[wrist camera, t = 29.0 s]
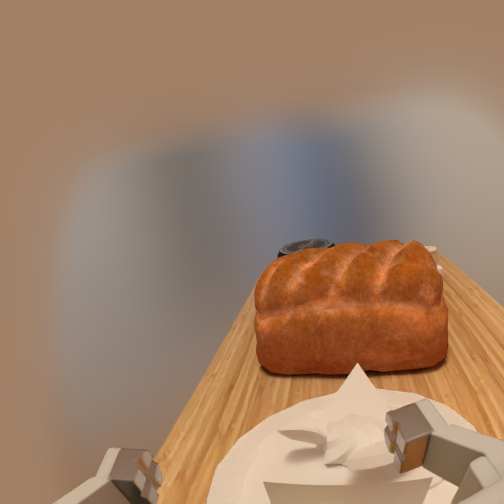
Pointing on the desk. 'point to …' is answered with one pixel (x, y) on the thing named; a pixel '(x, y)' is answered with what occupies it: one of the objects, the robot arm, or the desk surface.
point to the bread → (351, 310)
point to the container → (304, 246)
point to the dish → (329, 454)
